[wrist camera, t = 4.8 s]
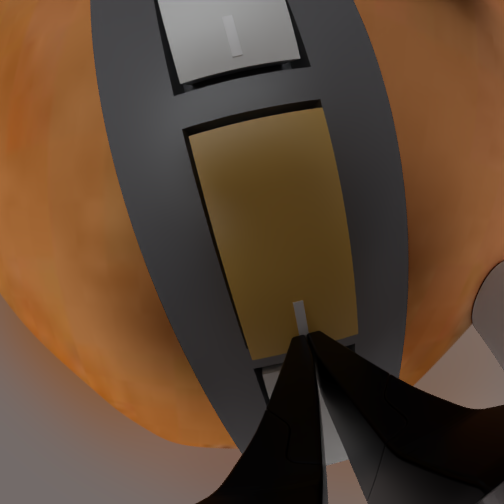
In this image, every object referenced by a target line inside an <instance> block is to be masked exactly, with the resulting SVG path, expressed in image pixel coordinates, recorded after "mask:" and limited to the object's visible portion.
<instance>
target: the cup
mask: <svg viewBox="0 0 504 504" xmlns="http://www.w3.org/2000/svg"><path fill="white" fill-rule="evenodd" d="M472 323H473V325H474V327H475V329H476V330H477V331H478V333H479V334H480V336H481V337H482V338H483V340H484V341H485V343H486V344H487V346H488V347H489V348H490V350H491V351H492V353H493V354H494V356H495V358H496V359H497V361H498V362H499V364H500V365H501V367H502V368H503V370H504V261H503V262H501V263H500V264H498V265H497V266H496V267H495V268H494V269H493V270H492V271H491V272H490V274H489V275H488V276H487V278H486V279H485V281H484V283H483V284H482V286H481V288H480V290H479V292H478V295H477V297H476V300H475V303H474V307H473V312H472Z"/></svg>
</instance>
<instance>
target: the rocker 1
mask: <svg viewBox="0 0 504 504" xmlns="http://www.w3.org/2000/svg"><path fill="white" fill-rule="evenodd" d="M158 4H159V7H160V11H161V15H162V19H163V23H164V26H165V30H166V34H167V38H168V41H169V45H170V49H171V52H172V56H173V60H174V63H175V67H176V70H177V74H178V78H179V81H180V84H186V85H191V84H194V83H198V82H201V81H205V80H208V79H212V78H216V77H220V76H224V75H228V74H232V73H237V72H241V71H246V70H251V69H257V68H262V67H268V66H274V65H281V64H286V63H289V62H292V61H294V60H297V59H300V55H299V50H298V46H297V42H296V38H295V34H294V30H293V27H292V23H291V19H290V15H289V12H288V8H287V5H286V2H285V0H158Z"/></svg>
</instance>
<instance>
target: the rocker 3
mask: <svg viewBox="0 0 504 504" xmlns="http://www.w3.org/2000/svg"><path fill="white" fill-rule="evenodd" d="M282 365H283V363H279V364H275V365H270V366H265V367H262V375H263V379H264V382H265V386H266V389H267V393H268V397H269V400H270V397H271V394H272V392H273V389H274V386H275V384H276V381H277V378H278V376H279V373H280V370H281V368H282ZM317 384H318V381H317ZM318 391H319V398H320V406H321V415H322V425H323V436H324V447H325V460H326V465H330V464H333V463H337V462H341V461H344V460H348V459H349V458H348V456H347V454H346V451H345V449H344V447H343V444H342V442H341V440H340V437H339V435H338V433H337V431H336V428H335V426H334V424H333V421H332V419H331V417H330V414H329V412H328V410H327V407H326V405H325V403H324V400H323V398H322V395H321V392H320V389H319V385H318Z"/></svg>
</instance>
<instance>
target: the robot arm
mask: <svg viewBox="0 0 504 504" xmlns="http://www.w3.org/2000/svg"><path fill="white" fill-rule="evenodd" d="M307 339H308V341H307ZM307 339H306V337H305V335H299V336H295V337H293V338H292V339H291V342H290V345H289V348H288V351H287V353H286V356H285V359H284V362H283V365H282V368H281V370H280V373H279V376H278V378H277V381H276V384H275V386H274V389H273V392H272V394H271V397H270V400H269V402H268V405H267V407H266V410H265V412H264V414H263V417H262V419H261V422H260V424H259V426H258V428H257V430H256V432H255V434H254V436H253V438H252V439H251V441H250V443H249V445H248V446H247V448H246V450H245V451H244V453H243V454H242V456H241V457H240V459H239V460H238V462H237V464H236V465H235V466H234V468H233V469H232V471H231V472H230V474H229V475H228V477H227V478H226V480H225V481H224V482H223V484H222V485H221V486H220V487H219V488H218V489H217V490H216V491H215V492H214V493H213V494H211V495H210V496H209V497H207V498H205V499H203V500H202V501H200V502H198V503H196V504H328V492H327V474H326V460H325V447H324V436H323V425H322V415H321V406H320V398H319V391H318V385H319V389H320V392H321V395H322V398H323V400H324V403H325V405H326V407H327V410H328V412H329V414H330V417H331V419H332V421H333V424H334V426H335V428H336V431H337V433H338V435H339V437H340V440H341V442H342V444H343V447H344V449H345V451H346V454H347V456H348V458H349V460H350V463H351V465H352V468H353V470H354V472H355V474H356V477H357V479H358V482H359V484H360V486H361V489H362V491H363V493H364V496H365V498H366V501H368V502H367V503H368V504H504V405H501V406H496V407H491V408H486V409H470V408H466V407H463V406H460V405H457V404H454V403H452V402H449V401H447V400H444V399H441V398H439V397H436V396H434V395H431V394H429V393H426V392H424V391H422V390H420V389H418V388H415V387H413V386H411V385H409V384H408V383H406V382H404V381H402V380H400V379H398V378H397V377H395V376H393V375H392V374H391V375H390V374H389V373H388V372H386V371H385V370H383V369H381V368H380V367H378V366H376V365H375V364H373V363H371V362H370V361H368V360H366V359H365V358H363V357H362V356H360V355H358V354H357V353H355V352H353V351H352V350H350V349H348V348H347V347H345V346H344V345H342V344H340V343H339V342H337V341H336V340H334V339H332V338H331V337H329V336H328V335H326V334H324V333H323V332H321V331H315V332H311V333H308V334H307ZM317 381H318V384H317Z"/></svg>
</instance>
